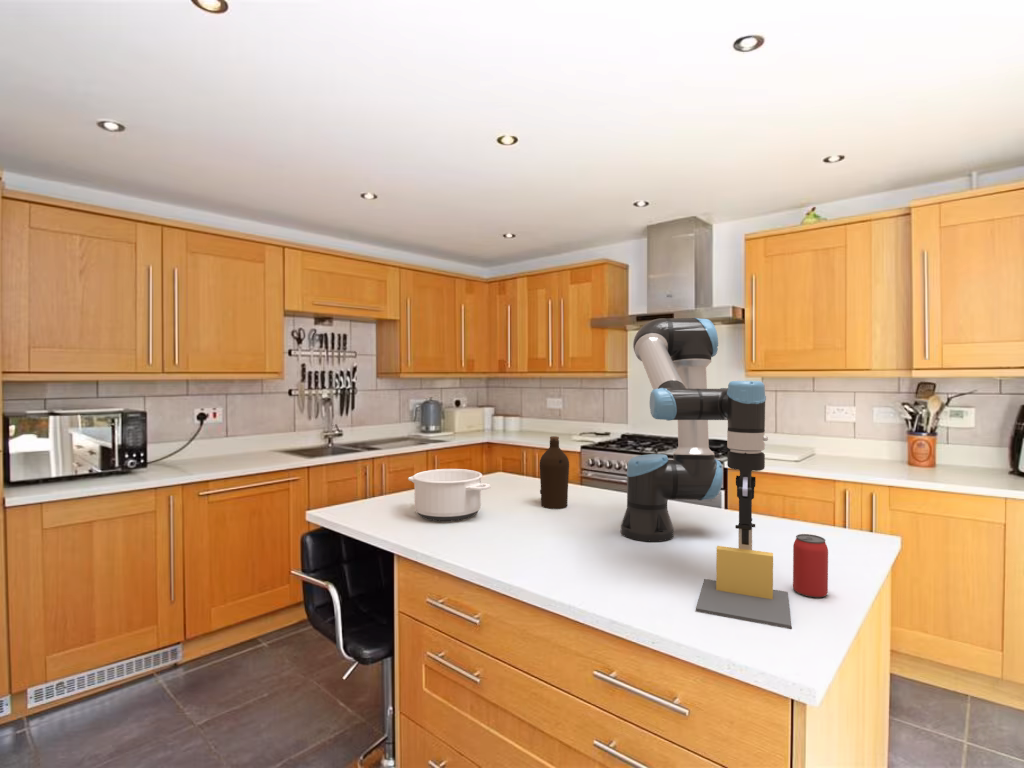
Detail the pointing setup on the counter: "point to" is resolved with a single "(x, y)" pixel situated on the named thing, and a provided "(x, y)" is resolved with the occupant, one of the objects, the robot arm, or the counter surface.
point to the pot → (448, 494)
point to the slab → (744, 572)
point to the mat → (745, 605)
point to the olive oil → (554, 476)
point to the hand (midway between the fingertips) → (745, 557)
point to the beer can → (810, 566)
